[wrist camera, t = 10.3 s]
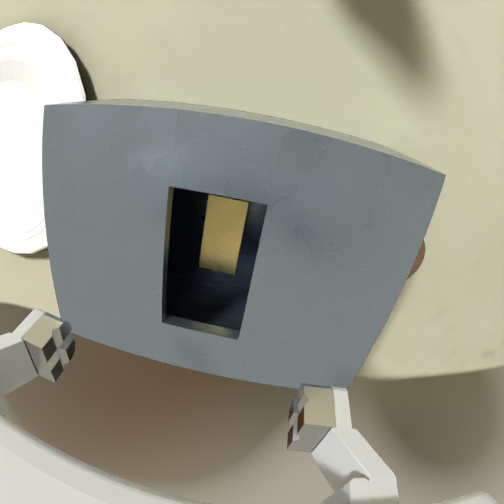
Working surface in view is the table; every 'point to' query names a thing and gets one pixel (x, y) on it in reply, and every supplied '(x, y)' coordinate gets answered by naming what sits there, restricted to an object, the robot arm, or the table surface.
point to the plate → (29, 126)
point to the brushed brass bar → (223, 233)
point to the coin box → (254, 245)
